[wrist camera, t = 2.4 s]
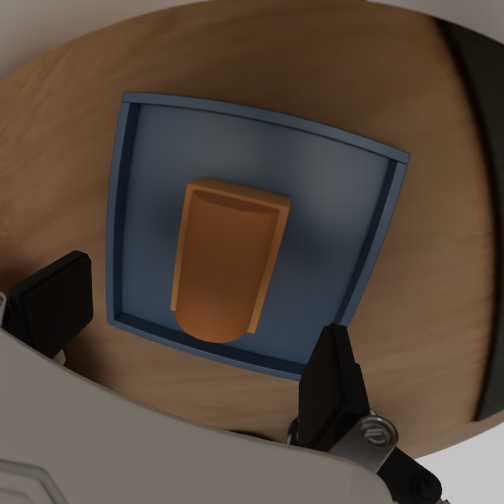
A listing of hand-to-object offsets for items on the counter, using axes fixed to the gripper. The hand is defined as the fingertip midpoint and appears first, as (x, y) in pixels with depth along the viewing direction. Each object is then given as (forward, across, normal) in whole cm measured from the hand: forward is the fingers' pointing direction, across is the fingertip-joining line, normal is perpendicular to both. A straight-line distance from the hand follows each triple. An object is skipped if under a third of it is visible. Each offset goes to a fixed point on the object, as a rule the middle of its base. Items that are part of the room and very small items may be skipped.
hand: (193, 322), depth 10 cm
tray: (+7, 0, -1) cm, 7 cm away
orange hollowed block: (+7, 0, -1) cm, 7 cm away
